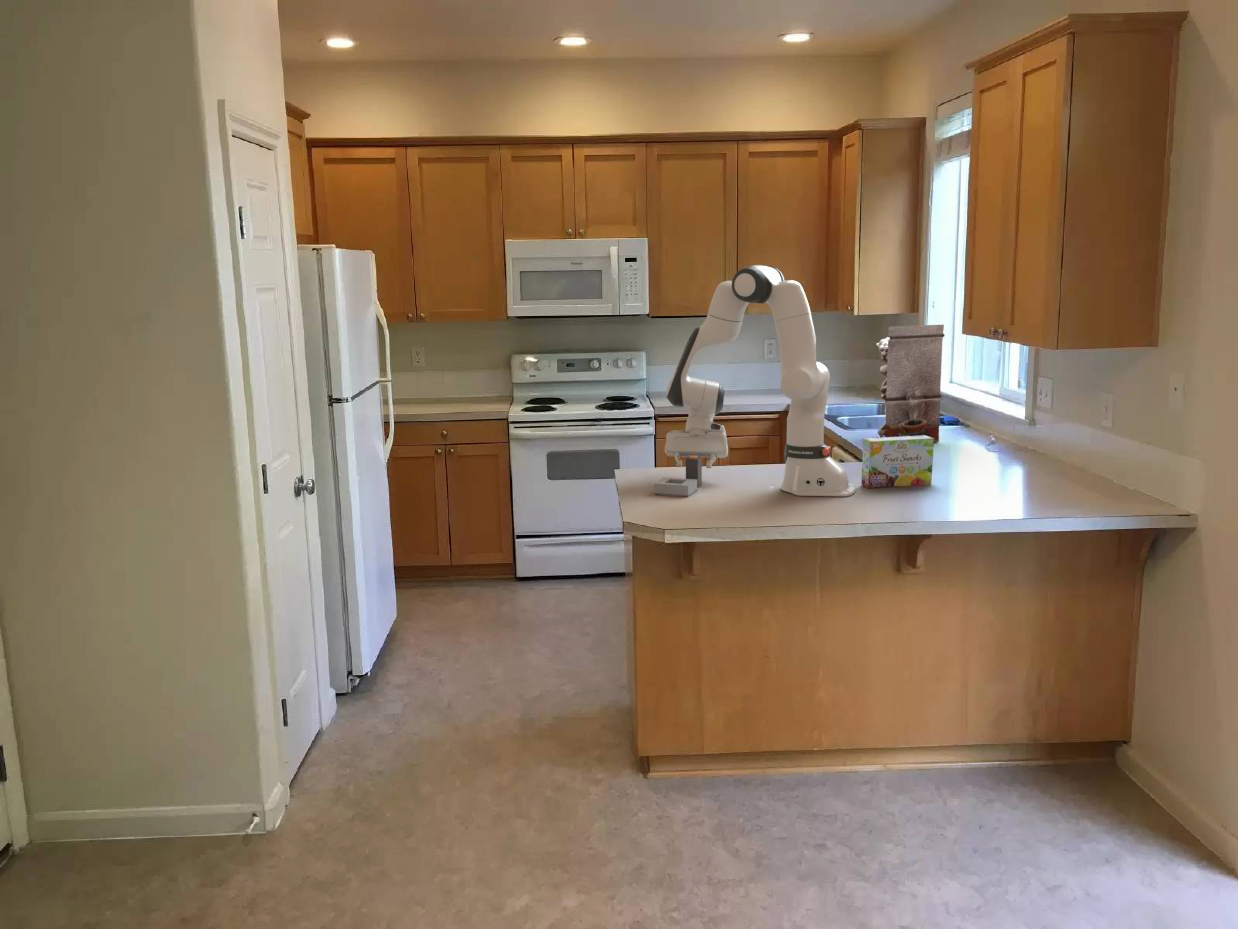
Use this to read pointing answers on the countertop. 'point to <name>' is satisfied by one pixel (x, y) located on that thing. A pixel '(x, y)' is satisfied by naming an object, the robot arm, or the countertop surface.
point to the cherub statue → (912, 376)
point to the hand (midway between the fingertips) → (693, 466)
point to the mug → (909, 428)
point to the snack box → (897, 461)
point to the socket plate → (675, 486)
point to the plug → (694, 469)
